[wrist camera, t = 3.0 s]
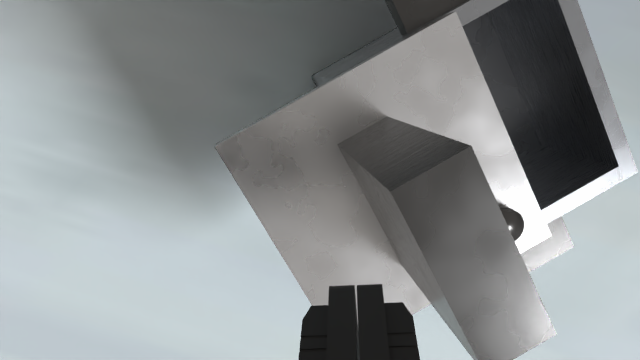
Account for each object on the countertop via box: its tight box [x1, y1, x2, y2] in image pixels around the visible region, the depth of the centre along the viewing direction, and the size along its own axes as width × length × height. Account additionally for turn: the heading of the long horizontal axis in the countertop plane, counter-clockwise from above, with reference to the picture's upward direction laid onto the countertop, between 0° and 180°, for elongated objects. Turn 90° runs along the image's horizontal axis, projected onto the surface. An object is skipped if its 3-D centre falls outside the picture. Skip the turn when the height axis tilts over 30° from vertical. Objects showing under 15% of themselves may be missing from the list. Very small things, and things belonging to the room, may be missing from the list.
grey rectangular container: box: [312, 0, 638, 272], centre depth 32 cm, size 20×14×9 cm
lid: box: [215, 11, 557, 360], centre depth 22 cm, size 14×14×11 cm
